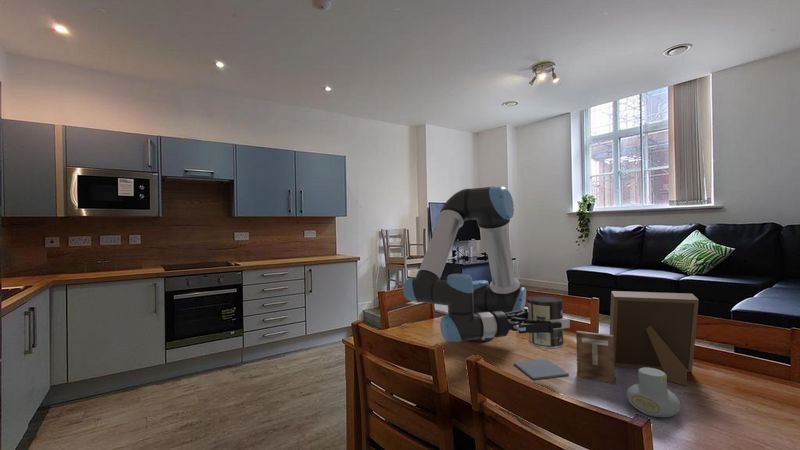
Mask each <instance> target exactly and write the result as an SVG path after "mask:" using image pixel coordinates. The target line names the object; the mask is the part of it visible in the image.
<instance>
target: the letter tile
mask: <svg viewBox="0 0 800 450" xmlns="http://www.w3.org/2000/svg"><path fill="white" fill-rule="evenodd" d="M575 334H576V335H575V336H576V337H575V339H576V378H577V379H582V380H583V379H584V380H589V381H590V380H591V381H596V382H601V383H602V382H603V383H608V384H613V385H615V384H616V382H615V381H616V379H615V366H614V335H610V333H609V334H607V333H598V332H590V331H581V330H576V332H575Z"/></svg>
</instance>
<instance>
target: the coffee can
mask: <svg viewBox="0 0 800 450" xmlns="http://www.w3.org/2000/svg"><path fill="white" fill-rule="evenodd" d="M526 301H527V309H528V319H527V320H534V321H548V320H554V319H564V317H563V316H564V315H563V314H564V313H563V311H564V309H563V302H564V301H563V298H562V297H559V296H555V295H546V294H545V295H543V294H542V295H540V294H538V295H535V294H534V295H530V296H526ZM564 341H565V340H564V328H563V329H553V333H528V343H529V345H531V346H533V347H535V348H539V349H545V350H558V349H561V348H563V347H564V345H565V343H564Z"/></svg>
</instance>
